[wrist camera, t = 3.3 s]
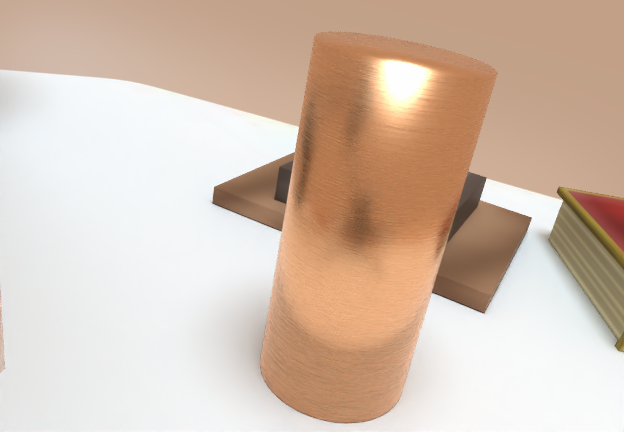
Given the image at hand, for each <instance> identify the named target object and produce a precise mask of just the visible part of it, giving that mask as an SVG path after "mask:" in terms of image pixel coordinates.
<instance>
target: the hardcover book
mask: <svg viewBox="0 0 624 432" xmlns="http://www.w3.org/2000/svg"><path fill="white" fill-rule="evenodd" d="M557 193H558V195H559V196H560V197H561V198H562V199H563V203H562V205H561V208H560V210H559V213H558V216H557V218H556V221H555V224H554V226H553V229H552V232H551V234H550V237H549V242H550V243H551V245H552V246H553V247H554V249H555V250H556V252H557V253H558V255H559V256H560V257H561V259H562V260H563V262H564V263H565V265H566V266H567V267H568V269H569V270H570V272H571V273H572V275H573V276H574V278H575V279H576V280H577V282H578V283H579V285H580V286H581V288H582V289H583V290H584V292H585V293H586V295H587V296H588V298H589V299H590V300H591V302H592V303H593V305H594V306H595V308H596V309H597V310H598V312H599V313H600V315H601V316H602V318H603V319H604V321H605V322H606V323H607V325H608V326H609V328H610V329H611V331H612V332H613V333H614V335H615V336H616V338H617V339H618V342H617V343H616V345H615V347H616V348H617V350H618V351H622V352H624V198H620V197H615V196H609V195H603V194H598V193H592V192H586V191H581V190H575V189H569V188H563V187H559V188H558V190H557Z"/></svg>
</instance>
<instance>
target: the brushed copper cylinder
mask: <svg viewBox="0 0 624 432" xmlns="http://www.w3.org/2000/svg"><path fill="white" fill-rule="evenodd" d="M496 76H497V71H496V70H495V69H494V68H492V67H491V66H489V65H487V64H485V63H483V62H481V61H478V60H476V59H473V58H470V57H467V56H464V55H461V54H457V53H454V52H451V51H447V50H443V49H439V48H436V47H432V46H428V45H424V44H419V43H414V42H409V41H405V40H400V39H394V38H388V37H382V36H376V35H368V34H359V33H349V32H322V33H318V34H316V35H315V36H314V42H313V48H312V54H311V60H310V66H309V72H308V78H307V84H306V90H305V96H304V102H303V108H302V114H301V120H300V126H299V132H298V137H297V143H296V149H295V155H294V161H293V167H292V173H291V179H290V185H289V191H288V197H287V203H286V209H285V215H284V221H283V227H282V233H281V239H280V245H279V251H278V257H277V263H276V269H275V275H274V281H273V287H272V293H271V299H270V305H269V311H268V317H267V323H266V329H265V335H264V341H263V347H262V353H261V359H260V368H261V372H262V375H263V378H264V380H265V382H266V383H267V385H268V387H269V388H270V389H271V390H272V392H273V393H274V394H275V395H276V396H277V397H278V398H280V399H281V400H282V401H283V402H285V403H286V404H287V405H289V406H291V407H292V408H294V409H296V410H297V411H300V412H302V413H304V414H306V415H309V416H312V417H314V418H318V419H322V420H326V421H332V422H340V423H356V422H363V421H368V420H372V419H375V418H377V417H380V416H382V415H384V414H385V413H387V412H388V411H390V410H391V409H392V408H393V407H394V406H395V405H396V403H397V402H398V401H399V398H400V396H401V394H402V390H403V387H404V384H405V380H406V377H407V374H408V370H409V367H410V364H411V360H412V357H413V354H414V350H415V347H416V344H417V340H418V337H419V334H420V330H421V327H422V324H423V320H424V317H425V314H426V310H427V307H428V303H429V300H430V297H431V293H432V290H433V287H434V283H435V280H436V277H437V273H438V270H439V267H440V263H441V260H442V257H443V253H444V250H445V247H446V243H447V240H448V237H449V233H450V230H451V227H452V223H453V220H454V217H455V213H456V210H457V207H458V203H459V200H460V197H461V193H462V190H463V187H464V183H465V180H466V177H467V173H468V170H469V167H470V163H471V160H472V157H473V153H474V150H475V146H476V143H477V140H478V137H479V133H480V130H481V127H482V123H483V120H484V117H485V113H486V110H487V107H488V103H489V99H490V96H491V93H492V90H493V87H494V83H495V80H496Z"/></svg>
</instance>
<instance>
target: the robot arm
mask: <svg viewBox="0 0 624 432" xmlns="http://www.w3.org/2000/svg"><path fill="white" fill-rule="evenodd" d="M3 369H5V362H4V344H3V327H2V309H1V292H0V372H1V371H2V370H3Z"/></svg>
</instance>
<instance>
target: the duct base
mask: <svg viewBox="0 0 624 432" xmlns="http://www.w3.org/2000/svg"><path fill="white" fill-rule="evenodd" d="M294 155H295V152H294V153H292V154H289V155H287V156H285V157H283V158H280V159H278V160H276V161H273V162H271V163H269V164H266V165H264V166H262V167H259V168H257V169H255V170H252V171H250V172H248V173H245V174H243V175H241V176H239V177H236V178H234V179H232V180H229V181H227V182H225V183H222V184H220V185H218V186H215V187H214V194H213V203H214V204H216V205H219V206H221V207H224V208H226V209H229V210H231V211H234V212H236V213H239V214H241V215H244V216H246V217H249V218H251V219H253V220H256V221H258V222H261V223H263V224H266V225H268V226H271V227H273V228H276V229H278V230H281V231H282V227H283V221H284V215H285V209H286V203H287V197H288V191H289V185H290V179H291V173H292V167H293V161H294ZM485 181H486V177H482V176H480V175H477V174H473V173H470V172H468V173H467V177H466V180H465V183H464V187H463V190H462V193H461V197H460V200H459V203H458V207H457V210H456V213H455V217H454V220H453V223H452V227H451V230H450V233H449V237H448V240H447V243H446V247H445V250H444V253H443V257H442V260H441V263H440V267H439V270H438V273H437V277H436V280H435V283H434V287H433V290H432V292H434V293H436V294H439V295H441V296H444V297H446V298H449V299H451V300H454V301H456V302H459V303H461V304H464V305H466V306H468V307H471V308H473V309H476V310H478V311H481V312H483V313H485V311H486V309H487V307H488V305H489V303H490V301H491V299H492V297H493V296H494V294H495V292H496V290H497V288H498V286H499V284H500V282H501V280H502V278H503V276H504V274H505V273H506V271H507V269H508V267H509V265H510V263H511V261H512V259H513V257H514V255H515V253H516V251H517V250H518V248H519V246H520V244H521V242H522V240H523V238H524V236H525V234H526V232H527V230H528V227H529V224H530V221H531V219H532V218H531V217H528V216H525V215H522V214H519V213H516V212H513V211H510V210H507V209H504V208H501V207H498V206H495V205H492V204H489V203H486V202H483V201H480V197H481V194H482V191H483V188H484V185H485Z"/></svg>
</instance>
